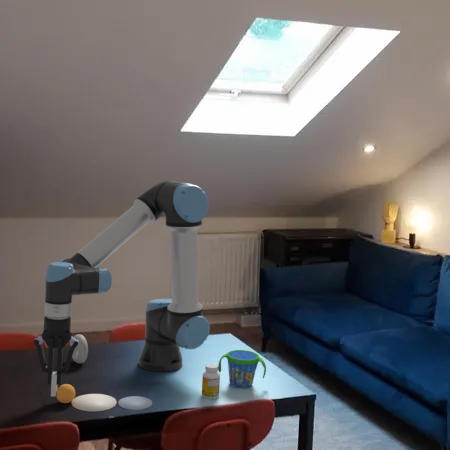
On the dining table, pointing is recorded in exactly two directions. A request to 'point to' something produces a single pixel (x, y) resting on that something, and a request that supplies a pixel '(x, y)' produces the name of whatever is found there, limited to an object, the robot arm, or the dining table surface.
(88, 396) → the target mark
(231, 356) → the snack cup
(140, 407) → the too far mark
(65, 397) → the ball
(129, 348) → the dining table surface
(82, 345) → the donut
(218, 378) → the supplement bottle
